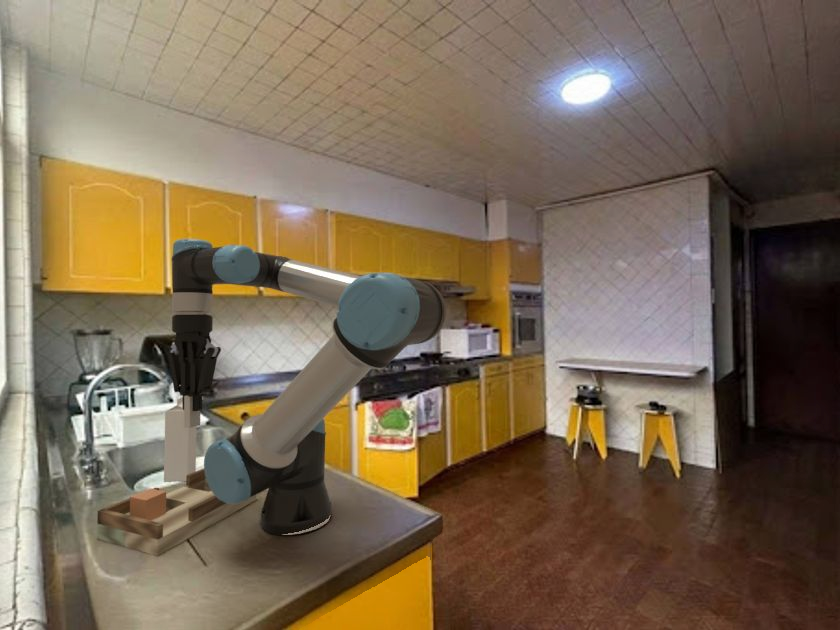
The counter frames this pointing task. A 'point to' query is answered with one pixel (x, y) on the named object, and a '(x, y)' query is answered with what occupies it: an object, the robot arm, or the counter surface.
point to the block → (148, 504)
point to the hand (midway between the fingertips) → (192, 426)
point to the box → (166, 518)
